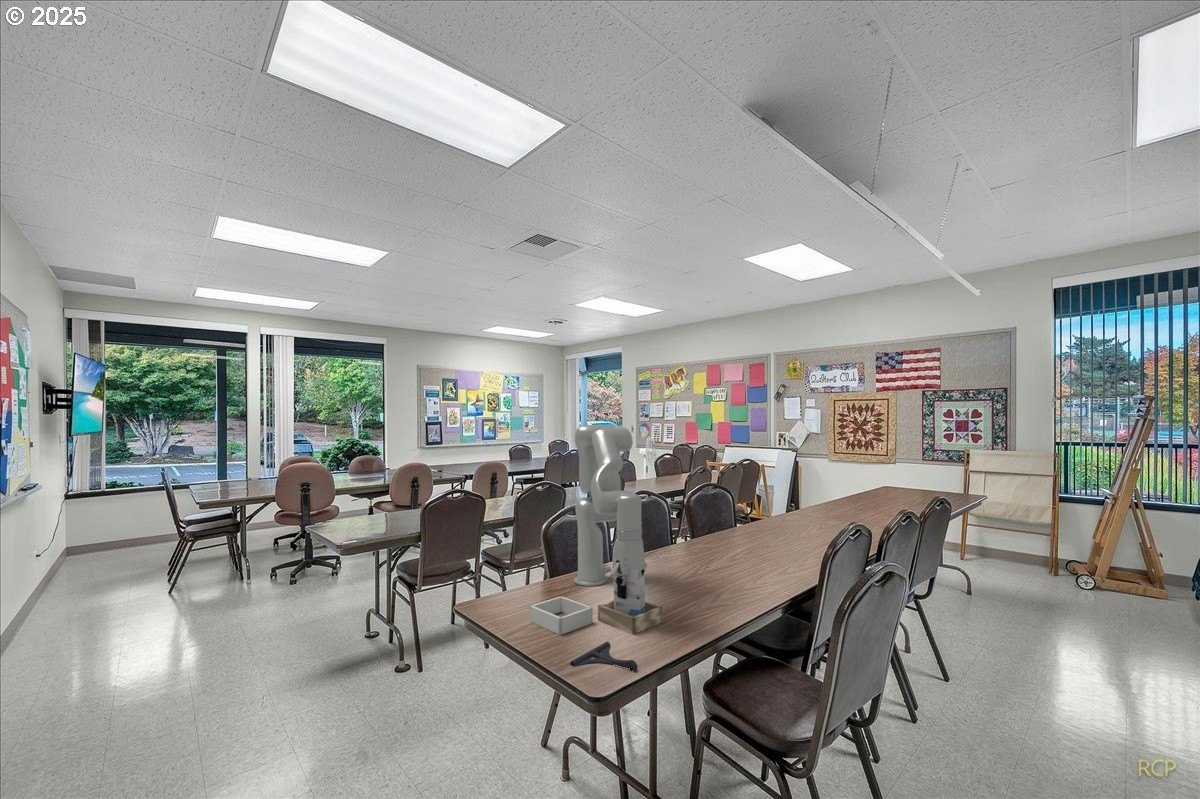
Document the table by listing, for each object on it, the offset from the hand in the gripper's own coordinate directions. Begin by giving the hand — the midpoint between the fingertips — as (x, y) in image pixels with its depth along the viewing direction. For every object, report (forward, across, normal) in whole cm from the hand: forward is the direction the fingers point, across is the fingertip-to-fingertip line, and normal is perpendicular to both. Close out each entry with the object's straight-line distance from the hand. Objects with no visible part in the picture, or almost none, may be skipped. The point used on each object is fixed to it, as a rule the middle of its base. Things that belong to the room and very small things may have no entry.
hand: (629, 594), depth 154 cm
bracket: (+9, +23, +15) cm, 29 cm away
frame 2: (+8, 0, 0) cm, 8 cm away
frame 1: (+8, +15, -14) cm, 22 cm away
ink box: (+6, 0, 0) cm, 6 cm away
